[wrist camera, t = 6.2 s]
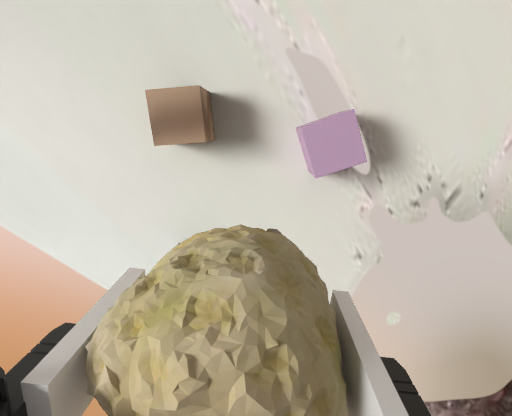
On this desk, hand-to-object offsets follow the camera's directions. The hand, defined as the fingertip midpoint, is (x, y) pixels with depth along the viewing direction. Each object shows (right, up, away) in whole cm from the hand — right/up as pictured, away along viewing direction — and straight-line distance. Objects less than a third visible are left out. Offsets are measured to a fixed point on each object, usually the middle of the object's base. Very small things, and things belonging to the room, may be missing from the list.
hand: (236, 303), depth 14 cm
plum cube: (+9, +12, +17) cm, 23 cm away
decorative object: (0, 0, +1) cm, 1 cm away
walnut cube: (-6, +15, +17) cm, 23 cm away
